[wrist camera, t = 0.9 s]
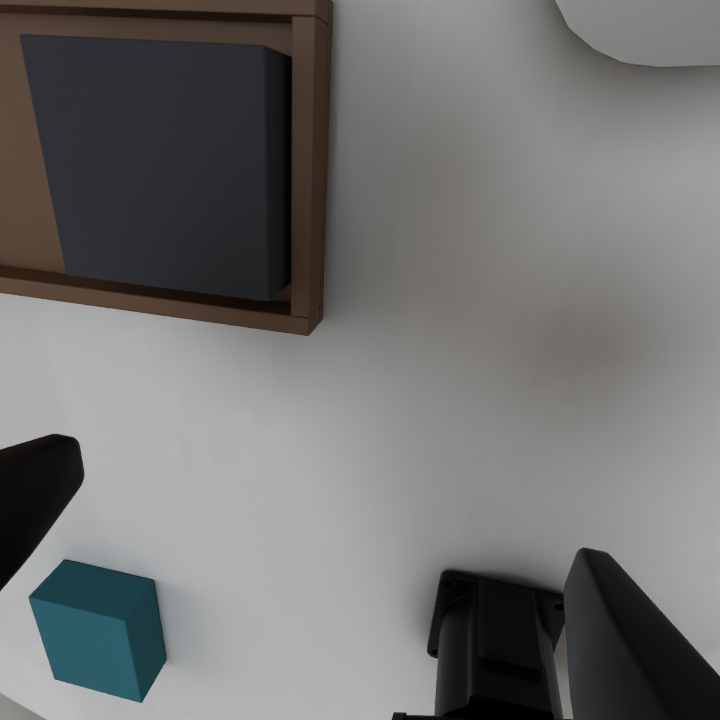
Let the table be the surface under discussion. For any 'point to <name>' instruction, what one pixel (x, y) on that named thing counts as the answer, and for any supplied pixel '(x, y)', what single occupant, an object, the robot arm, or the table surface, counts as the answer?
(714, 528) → the table surface
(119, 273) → the charcoal pad
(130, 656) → the teal pad
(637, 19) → the cup
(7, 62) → the backing tray
